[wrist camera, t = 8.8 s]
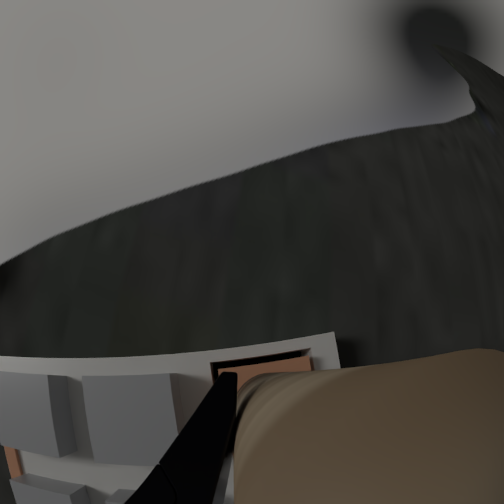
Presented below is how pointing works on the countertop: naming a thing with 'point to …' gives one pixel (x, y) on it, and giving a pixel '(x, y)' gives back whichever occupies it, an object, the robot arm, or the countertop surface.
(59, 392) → the keypad
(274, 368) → the terracotta key
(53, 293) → the countertop surface
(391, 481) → the tan banded cylinder
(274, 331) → the countertop surface
